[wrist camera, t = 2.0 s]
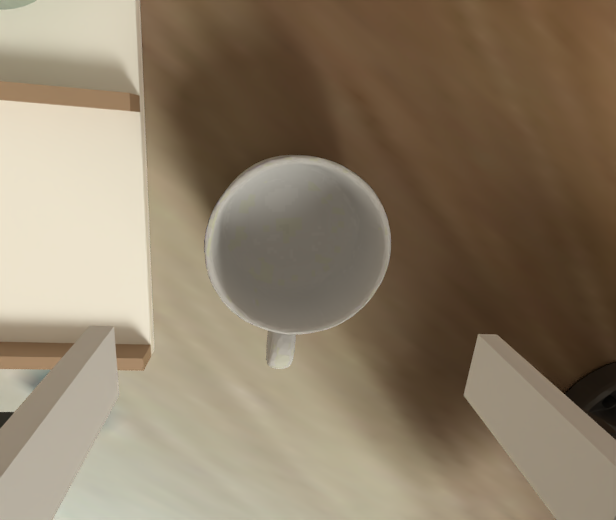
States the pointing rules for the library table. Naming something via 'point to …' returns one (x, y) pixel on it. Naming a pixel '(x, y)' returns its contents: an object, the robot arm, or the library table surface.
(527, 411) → the robot arm
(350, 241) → the teacup
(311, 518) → the library table surface
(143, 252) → the beige tray
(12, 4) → the pale green cup
